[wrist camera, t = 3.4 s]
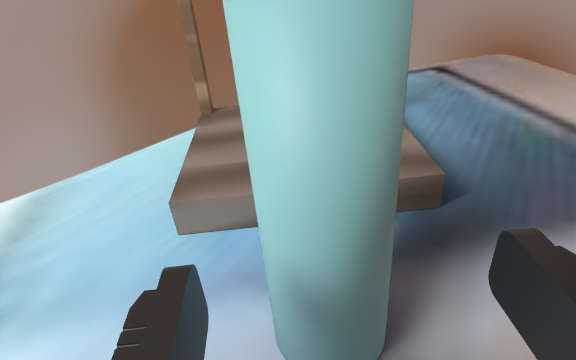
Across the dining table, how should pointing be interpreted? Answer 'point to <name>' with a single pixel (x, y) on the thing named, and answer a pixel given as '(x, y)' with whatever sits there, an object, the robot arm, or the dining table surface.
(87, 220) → the dining table surface
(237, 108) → the tan frame
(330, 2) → the peg
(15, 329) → the dining table surface
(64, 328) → the dining table surface
